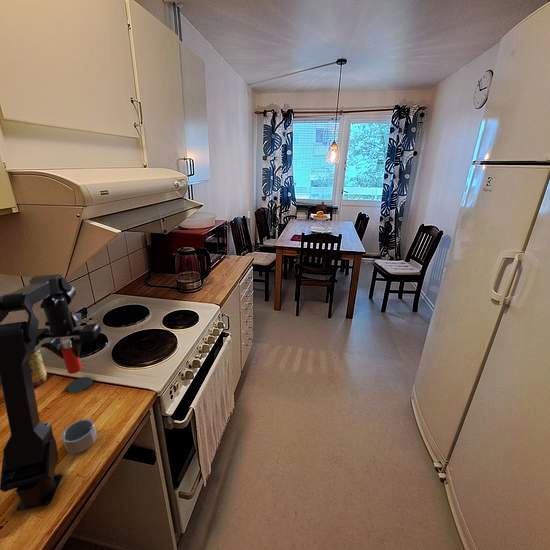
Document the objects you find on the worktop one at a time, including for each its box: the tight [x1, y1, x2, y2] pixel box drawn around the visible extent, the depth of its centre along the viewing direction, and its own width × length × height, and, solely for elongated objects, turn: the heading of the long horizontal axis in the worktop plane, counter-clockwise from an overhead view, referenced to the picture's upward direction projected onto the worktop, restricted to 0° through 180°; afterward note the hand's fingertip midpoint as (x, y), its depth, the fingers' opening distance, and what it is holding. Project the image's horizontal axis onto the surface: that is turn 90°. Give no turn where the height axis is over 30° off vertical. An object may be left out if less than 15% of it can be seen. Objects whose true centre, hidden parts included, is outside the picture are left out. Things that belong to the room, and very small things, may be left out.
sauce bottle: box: [29, 345, 48, 387], centre depth 93 cm, size 6×6×20 cm
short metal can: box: [61, 418, 98, 455], centre depth 76 cm, size 7×7×4 cm
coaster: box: [66, 376, 93, 394], centre depth 95 cm, size 7×7×1 cm
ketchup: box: [61, 339, 83, 375], centre depth 91 cm, size 4×4×11 cm
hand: (71, 357), depth 91 cm, fingers closed on ketchup, 4 cm apart
